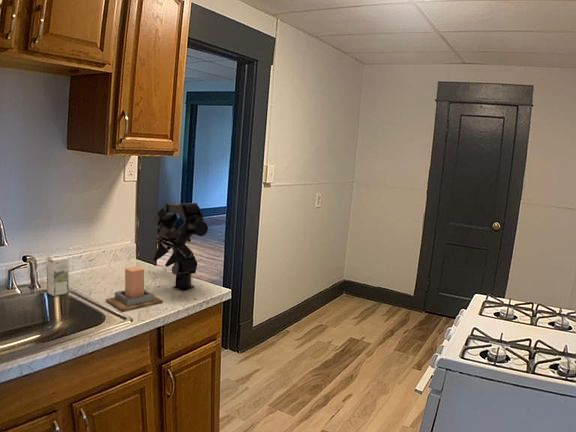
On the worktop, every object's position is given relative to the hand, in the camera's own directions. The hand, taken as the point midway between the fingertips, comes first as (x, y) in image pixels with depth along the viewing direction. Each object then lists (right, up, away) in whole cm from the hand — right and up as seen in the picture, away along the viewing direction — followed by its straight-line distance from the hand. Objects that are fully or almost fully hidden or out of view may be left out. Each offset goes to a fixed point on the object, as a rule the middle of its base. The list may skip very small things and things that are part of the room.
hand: (159, 263), depth 179 cm
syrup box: (-39, -12, 0) cm, 41 cm away
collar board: (-8, -14, -5) cm, 17 cm away
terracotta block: (-8, -13, -5) cm, 16 cm away
